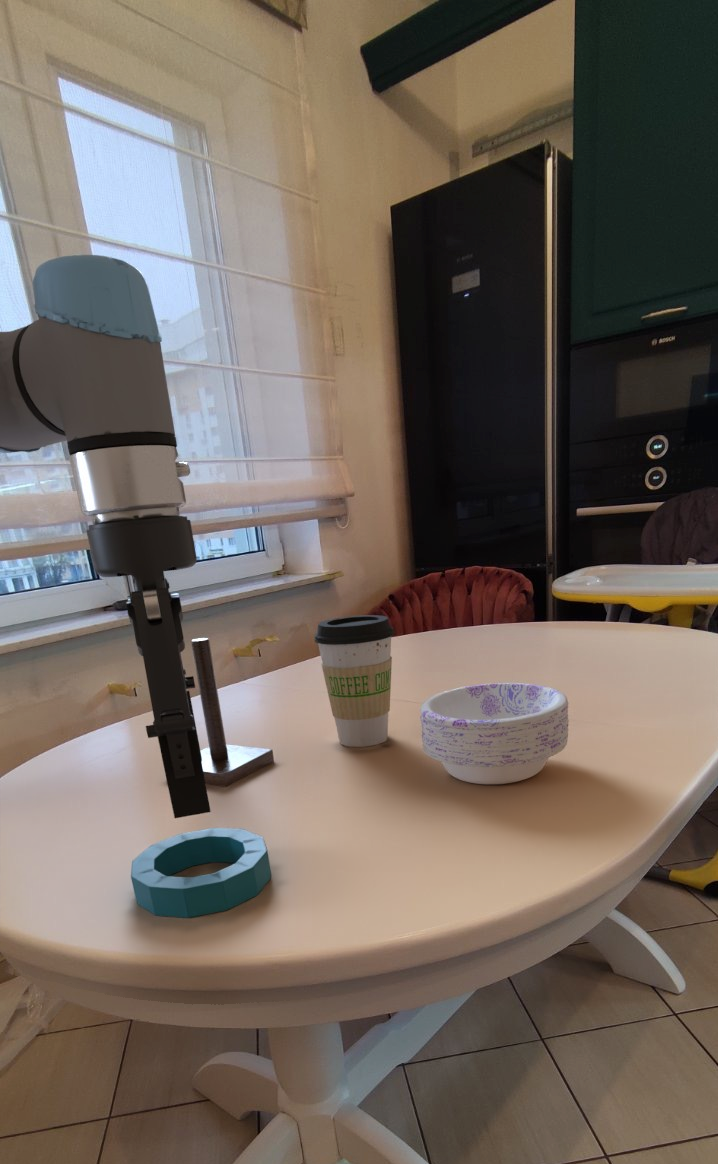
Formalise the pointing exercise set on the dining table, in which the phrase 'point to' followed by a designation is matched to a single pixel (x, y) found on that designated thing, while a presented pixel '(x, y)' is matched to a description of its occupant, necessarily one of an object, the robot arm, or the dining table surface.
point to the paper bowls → (495, 730)
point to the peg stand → (221, 729)
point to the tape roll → (206, 890)
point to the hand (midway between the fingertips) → (189, 785)
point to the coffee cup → (357, 676)
